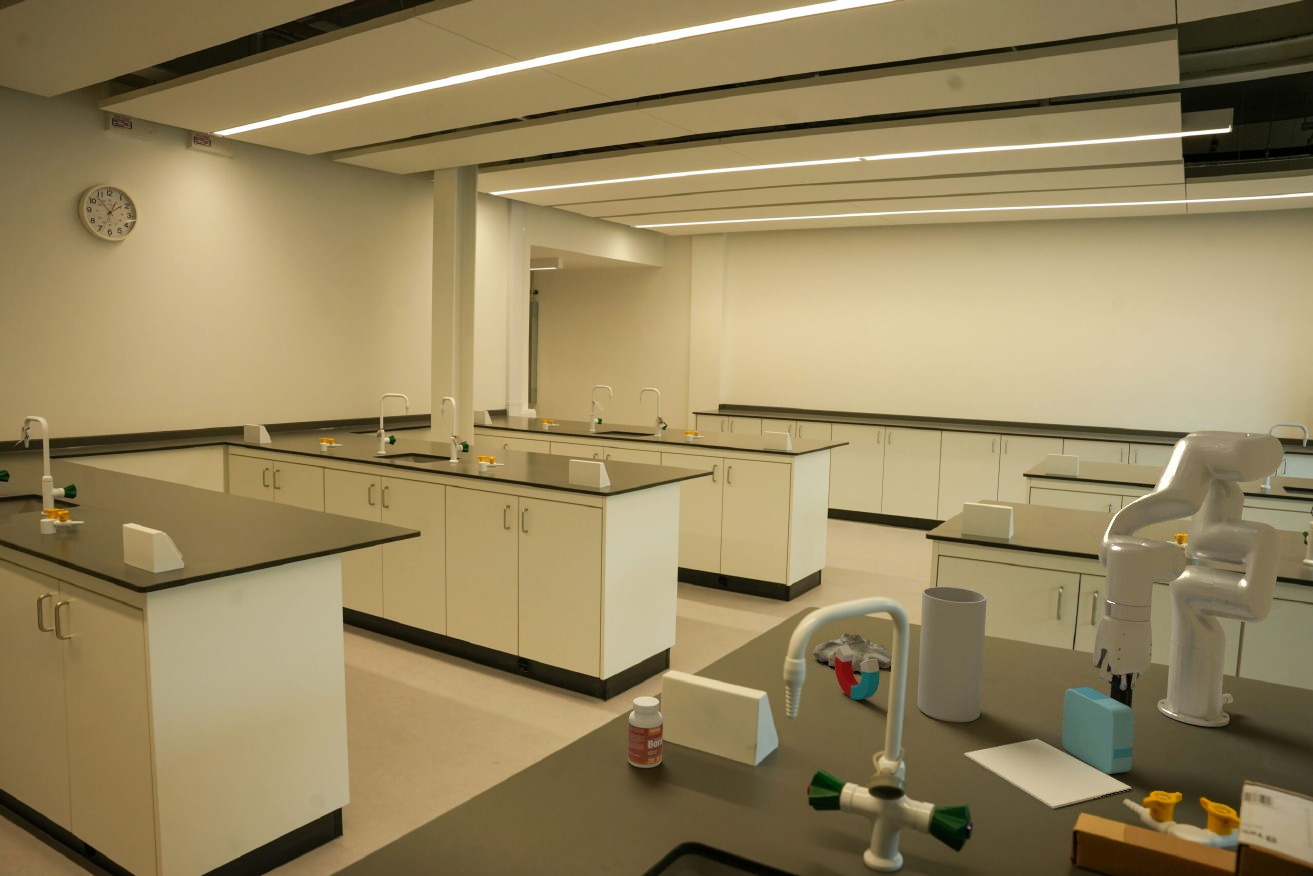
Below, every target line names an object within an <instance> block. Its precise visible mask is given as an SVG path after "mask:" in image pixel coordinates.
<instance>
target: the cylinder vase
mask: <svg viewBox="0 0 1313 876" xmlns="http://www.w3.org/2000/svg"><path fill="white" fill-rule="evenodd" d="M921 596H922V597H921V617H920V620H921V621H920V637H919V638H920V641H919V658H918V659H919V661H918V679H917V680H918V681H917V682H918V685H917V686H918V687H917V703H916V704H917V707H918V709H919V710H920V711H921V712H922V713H923V714H924V713H925V714H924V715H926V716H928V717H931V718H933V719H935V720H939V721H942V722H943V721H944V722H947V723H956V722H957V724H958V723H962V722H963V723H970V722H973V721H976V720H977V719H978V718H980V717H981V711H982V698H983V697H982V696H983V695H982V693H983V678H984V677H983V673H984V653H985V639H986V638H985V637H986V636H985V635H986V633H985V632H986V617H987V615H986V614H987V596H986V595H985V594H983V593H981V592H978V591H975V590H971V589H967V588H961V587H953V586H933V587H927V588H924V589H922V595H921Z"/></svg>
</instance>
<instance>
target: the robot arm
mask: <svg viewBox="0 0 1313 876" xmlns="http://www.w3.org/2000/svg"><path fill="white" fill-rule="evenodd" d="M1283 457H1284V449H1283V445H1282V443H1281V441H1280V440H1279V438H1277V436H1275V435H1273V434H1268V433H1254V432H1241V431H1240V432H1239V431H1225V430H1198V431H1193V432H1190V433H1188V434H1187V435H1186V436H1185V437H1183V438H1180V439H1179V440H1178V441H1176V443H1175V444H1174V445H1173V447H1172V449H1171V451H1170V453H1169V455H1168V458H1167V459H1166V462H1165V464H1164V466H1163V468H1162V470H1161V473H1159V474H1160V475H1159V477H1158V478H1157V480H1156V483H1155V486H1154V487H1153V489H1152V490H1151V491H1150V492H1148V493H1146V494H1145V495H1142V496H1140V497H1139V498H1136V499H1135V500H1133V501H1132V502H1130V503H1128V504H1127V505H1125V506H1124V507H1122V508H1121V509H1120V510H1118V512H1117V513H1116V514H1115V515H1114V516H1113V517H1112V518H1111V520H1110V522H1109V524H1108V526H1107V528H1106V531H1105V532H1104V534H1103V536H1102V539H1101V542H1100V543H1099V547H1098V548H1099V550H1098V560H1099V563H1100V564H1101V566H1102V567H1103V568H1104V569H1105V585H1104V597H1103V598H1104V599H1103V600H1104V601H1103V611H1102V612H1103V615H1102V616H1100V618H1099V623H1098V625H1097V629H1096V634H1095V640H1094V647H1093V655H1092V665H1093V667H1094V668H1095V669H1100V671H1099V675H1098V677H1099V679H1101V680H1104V681H1106V682H1107V681H1108V685H1109V686H1110V698H1112V699H1114V700H1116V701H1118V702H1120V703H1122V704H1124V705H1127V706H1128V707H1130V708H1131V709H1132V707H1133V705H1132V703H1133V692H1134V689H1135V688H1136V685H1137V680H1138V678H1140V677H1142V676H1144V675H1145V674H1146V672H1147V670H1149V669H1150V667H1151V664H1152V655H1153V653H1152V652H1153V633H1152V621H1151V614H1152V613H1151V612H1152V599H1153V585H1154V583H1169V584H1168V587H1169V588H1168V589H1169V597H1170V604H1171V632H1170V633H1171V634H1170V647H1169V648H1170V649H1169V663H1168V664H1169V665H1168V679H1167V680H1168V681H1167V691H1166V692H1167V693H1166V698H1163V699H1160V700H1159V701H1158V702H1157V710H1159V712H1161V713H1162V714H1163V715H1164V716H1166V717H1168V718H1171V719H1173V720H1176V721H1179V722H1182V723H1185V724H1189V725H1194V726H1198V727H1199V726H1201V727H1212V728H1219V727H1224V726H1227V725H1228V724H1229V723H1230V715H1229V713H1227V712H1226V711H1224V710H1223V706H1224V705H1225V704H1231V703H1233V702H1234V696H1232V694H1230V693H1223V682H1224V670H1225V669H1224V666H1225V656H1226V655H1225V654H1226V645H1227V644H1226V643H1227V639H1226V633H1225V630H1224V628H1223V626H1222V625H1221V623H1220V622H1219V620H1218V618H1217V617H1220V618H1222V619H1228V620H1232V621H1237V622H1243V623H1248V624H1260V623H1262V622H1264V621H1265V620H1267V618H1268V617H1269V614H1270V611H1271V608H1272V604H1273V599H1274V594H1275V588H1276V583H1277V579H1278V578H1277V577H1278V574H1279V566H1280V563H1281V555H1282V539H1281V534H1280V532H1279V530H1277V529H1276V528H1275V527H1274V526H1272V525H1270V524H1268V523H1265V522H1260V521H1254V520H1253V521H1252V520H1246V519H1242V518H1243V517H1242V516H1243V511H1244V506H1245V505H1244V504H1245V494H1244V492H1243V490H1242V487H1240V485H1239V484H1238V482H1239V483H1250V482H1255V481H1259V480H1261V479H1265V478H1268V477H1270V476H1272V475H1274V474H1275V473H1276V472H1277V471H1278V469H1279V468H1280V466H1281V464H1282V461H1283ZM1188 517H1191V519H1190V524H1189V528H1188V533H1187V542H1186V543H1187V544H1186V545H1187V551H1188V552H1189V554H1190V555H1191V556H1193V557H1195V558H1197V559H1199V560H1202V561H1208V562H1213V563H1218V564H1224V565H1228V566H1229V565H1230V566H1235V567H1241V568H1244V569H1245V573H1241V572H1236V571H1229V570H1225V569H1220V568H1215V567H1214V568H1213V567H1211V566H1210V567H1209V566H1202V565H1195V564H1194V565H1193V564H1191V565H1187V555H1186V554H1185V553H1186V552H1184V550H1183V549H1182V548H1181V547H1180V546H1178V545H1176V544H1174V543H1172V542H1168V541H1162V540H1156V539H1150V538H1145V537H1139V536H1133V535H1135V534H1136V533H1137V532H1140V530H1142V529H1145V528H1146V527H1150V526H1152V525H1157V524H1161V523H1162V524H1163V523H1167V522H1172V521H1176V520H1181V519H1184V518H1188Z"/></svg>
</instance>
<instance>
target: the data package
mask: <svg viewBox="0 0 1313 876" xmlns="http://www.w3.org/2000/svg"><path fill="white" fill-rule="evenodd" d="M1134 733H1135V713H1134V711H1133V709H1132V707H1131V708H1130V707H1128V706H1127V705H1124V704H1122V703H1120V702H1118V701H1116V700H1114V699H1112V698H1110V697H1109V696H1107V695H1105V694H1103V693H1102V692H1100V691H1098V690H1096V689H1093V688H1091V687H1089V686H1086V687H1077V688H1075V687H1074V688H1068V689H1066V690H1065V693H1064V701H1063V715H1062V734H1061V735H1062V737H1061V744H1062V745H1063V747H1064V750H1066V751H1067V752H1068V753H1070V754H1072V755H1073V756H1075V758H1078V759H1079V760H1080V761H1082V762H1084V763H1085V764H1087V765H1089V766H1091V767H1093V768H1095V769H1097V770H1099V771H1101V772H1103V773H1104V774H1106V775H1111V774H1120V773H1127V772H1129V771H1130V770H1131V769H1132V762H1133V747H1134Z"/></svg>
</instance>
